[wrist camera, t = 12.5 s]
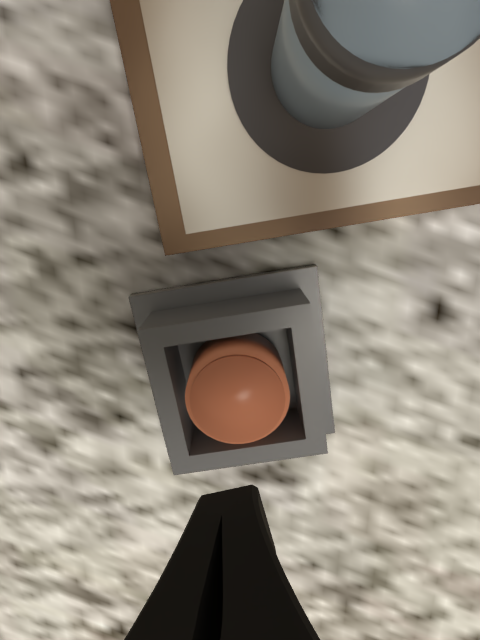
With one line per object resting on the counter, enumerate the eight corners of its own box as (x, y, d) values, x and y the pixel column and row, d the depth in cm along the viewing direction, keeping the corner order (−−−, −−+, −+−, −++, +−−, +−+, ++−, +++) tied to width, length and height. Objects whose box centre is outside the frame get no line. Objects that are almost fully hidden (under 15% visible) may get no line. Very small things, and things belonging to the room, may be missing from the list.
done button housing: (314, 264, 17) (330, 278, 14) (332, 427, 19) (349, 466, 17) (131, 294, 17) (110, 313, 15) (170, 450, 20) (159, 493, 17)
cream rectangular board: (517, -152, 13) (546, -188, 12) (506, 196, 16) (528, 196, 15) (101, -68, 14) (87, -94, 12) (169, 252, 17) (163, 256, 16)
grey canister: (392, 120, 14) (528, 51, 8) (277, 139, 14) (312, 89, 8) (385, -17, 13) (540, -242, 6) (261, 6, 13) (285, -189, 7)
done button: (276, 322, 17) (283, 343, 14) (288, 406, 18) (296, 439, 16) (183, 337, 17) (174, 360, 15) (201, 419, 18) (195, 453, 16)
